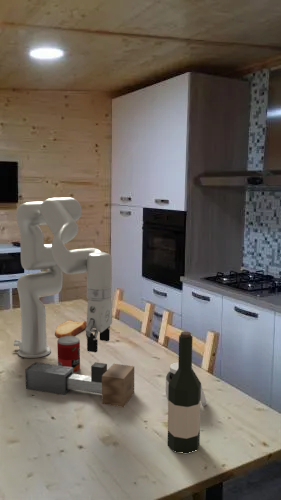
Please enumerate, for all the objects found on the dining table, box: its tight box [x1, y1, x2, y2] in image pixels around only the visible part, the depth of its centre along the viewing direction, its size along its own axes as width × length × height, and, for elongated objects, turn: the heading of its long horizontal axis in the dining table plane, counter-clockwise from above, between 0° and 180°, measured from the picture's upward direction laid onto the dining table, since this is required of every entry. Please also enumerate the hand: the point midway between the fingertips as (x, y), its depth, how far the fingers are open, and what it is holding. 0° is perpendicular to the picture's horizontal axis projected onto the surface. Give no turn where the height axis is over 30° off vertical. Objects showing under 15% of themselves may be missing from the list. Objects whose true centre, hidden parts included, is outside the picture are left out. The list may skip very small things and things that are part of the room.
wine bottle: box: [167, 331, 202, 454], centre depth 119 cm, size 8×8×30 cm
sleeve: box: [25, 361, 74, 396], centre depth 153 cm, size 14×6×7 cm, turn 72°
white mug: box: [165, 361, 208, 407], centre depth 143 cm, size 12×11×12 cm
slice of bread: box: [54, 319, 87, 339], centre depth 211 cm, size 18×18×4 cm
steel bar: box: [66, 362, 108, 395], centre depth 149 cm, size 20×4×9 cm, turn 72°
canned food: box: [56, 336, 81, 373], centre depth 168 cm, size 8×8×11 cm
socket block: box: [101, 363, 135, 408], centre depth 146 cm, size 7×10×9 cm
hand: (98, 345), depth 147 cm, fingers open, 9 cm apart
